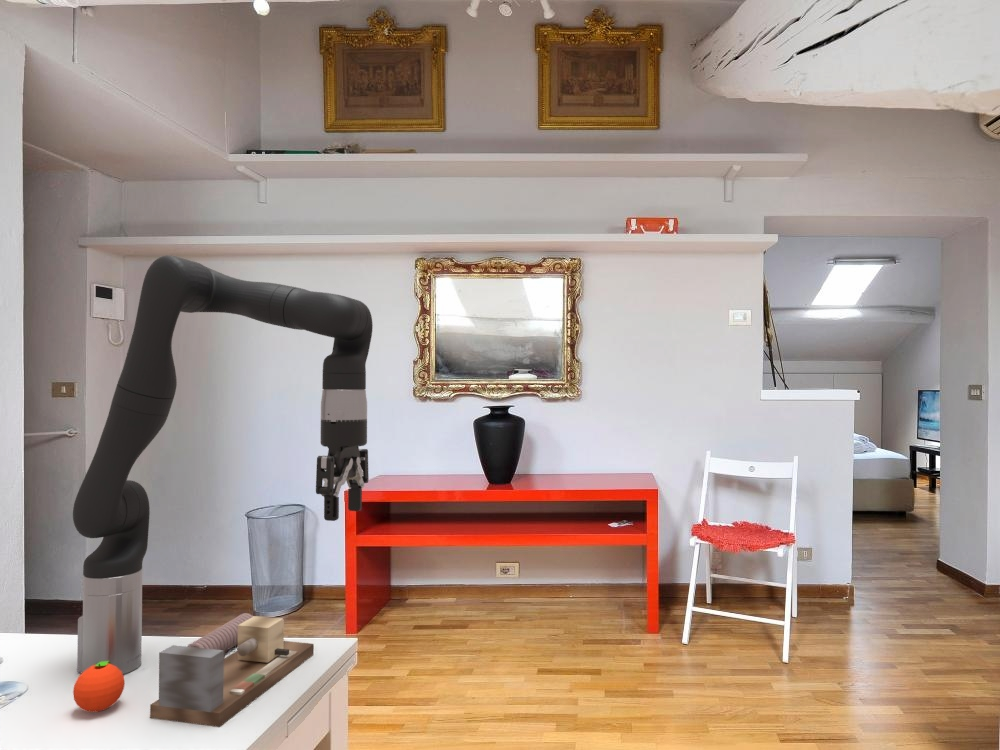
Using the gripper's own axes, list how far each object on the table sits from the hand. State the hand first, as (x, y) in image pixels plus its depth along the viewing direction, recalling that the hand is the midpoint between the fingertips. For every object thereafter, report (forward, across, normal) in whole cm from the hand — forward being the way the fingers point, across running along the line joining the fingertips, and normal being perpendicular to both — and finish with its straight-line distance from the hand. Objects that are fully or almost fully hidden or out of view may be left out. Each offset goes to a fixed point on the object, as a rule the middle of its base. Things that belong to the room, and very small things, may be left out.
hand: (343, 515), depth 111 cm
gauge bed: (+29, 0, -19) cm, 35 cm away
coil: (+30, -12, -31) cm, 44 cm away
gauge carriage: (+27, -4, -18) cm, 32 cm away
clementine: (+30, +13, -35) cm, 47 cm away
